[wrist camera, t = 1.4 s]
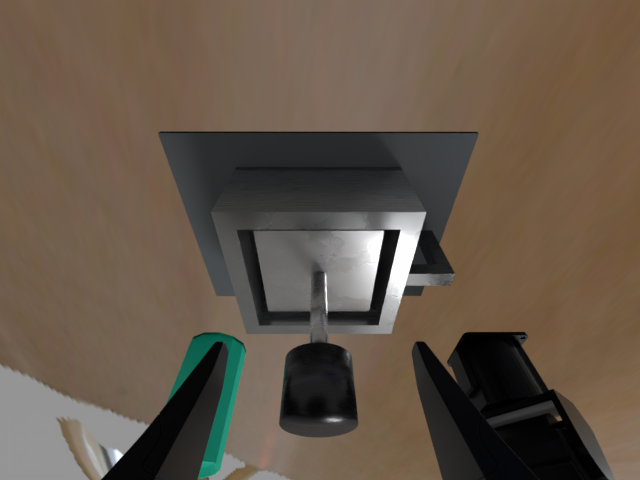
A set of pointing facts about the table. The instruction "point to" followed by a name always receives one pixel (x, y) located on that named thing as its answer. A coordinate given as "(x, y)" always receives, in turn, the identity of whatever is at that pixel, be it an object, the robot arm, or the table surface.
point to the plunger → (318, 318)
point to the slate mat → (312, 151)
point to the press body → (326, 213)
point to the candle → (228, 395)
